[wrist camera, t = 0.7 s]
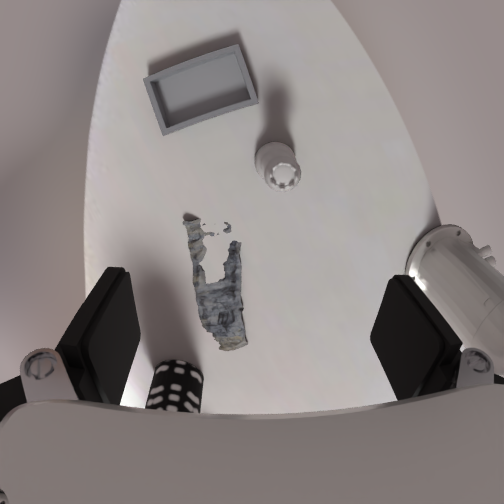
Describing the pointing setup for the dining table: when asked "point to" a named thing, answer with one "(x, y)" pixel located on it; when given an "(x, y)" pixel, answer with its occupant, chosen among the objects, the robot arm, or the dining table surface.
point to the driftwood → (218, 291)
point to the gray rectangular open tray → (200, 89)
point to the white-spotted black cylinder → (176, 387)
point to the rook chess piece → (278, 166)
